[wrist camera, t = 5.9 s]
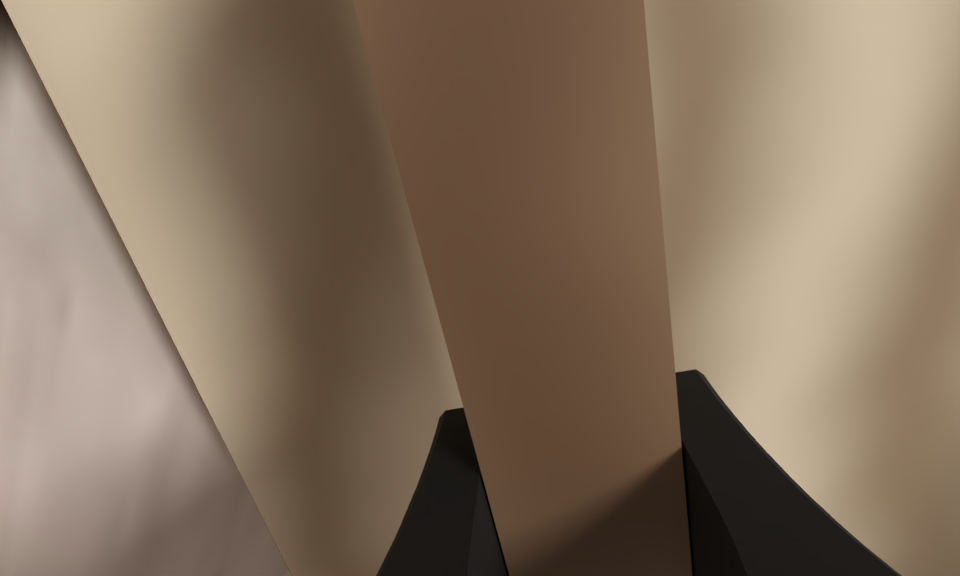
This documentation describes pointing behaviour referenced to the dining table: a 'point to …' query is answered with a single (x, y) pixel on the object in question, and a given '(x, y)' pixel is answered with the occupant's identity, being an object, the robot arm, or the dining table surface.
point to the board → (403, 278)
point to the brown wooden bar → (545, 266)
